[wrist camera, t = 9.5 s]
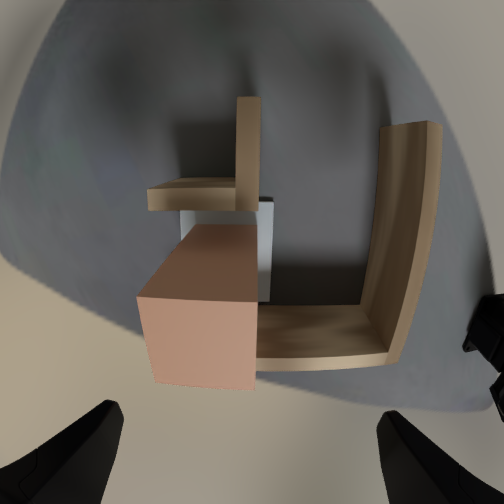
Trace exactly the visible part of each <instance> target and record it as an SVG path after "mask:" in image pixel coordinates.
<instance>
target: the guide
mask: <svg viewBox="0 0 504 504" xmlns="http://www.w3.org/2000/svg"><path fill="white" fill-rule="evenodd" d="M260 120H261V97H237V121H236V177H195V178H179V179H176V180H173V181H170V182H167V183H164V184H161V185H158V186H155V187H152V188H149V189H147V195H148V211H180V223H181V241H182V239H183V238H184V237H185V236H186V235H187V234H188V232H189V231H190V230H191V229H192V228H193V226H194V225H195V224H233V225H257V238H258V302H269V300H270V281H271V260H272V237H273V211H274V202H273V201H259V166H260ZM441 158H442V125H441V124H438V123H434V122H430V121H420V122H412V123H405V124H399V125H392V126H386V127H380V139H379V162H378V178H377V190H376V201H375V211H374V220H373V228H372V236H371V243H370V250H369V257H368V263H367V269H366V275H365V280H364V286H363V291H362V296H361V301H360V305H258V307H257V341H256V371H312V370H333V369H347V368H359V367H370V366H379V365H387V364H395V363H398V360H399V358H400V355H401V352H402V350H403V347H404V344H405V341H406V338H407V335H408V332H409V329H410V326H411V323H412V320H413V316H414V313H415V310H416V306H417V303H418V299H419V295H420V292H421V288H422V284H423V280H424V276H425V271H426V267H427V262H428V258H429V253H430V248H431V242H432V237H433V231H434V225H435V218H436V211H437V203H438V195H439V185H440V173H441Z"/></svg>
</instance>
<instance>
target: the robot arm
mask: <svg viewBox="0 0 504 504" xmlns="http://www.w3.org/2000/svg"><path fill="white" fill-rule="evenodd" d="M463 350H464V352H470V351H474V350H478V351H479V352H480V353H481V354H482V355H483V357H484V358H485V359H486V360H487V361H488V362H490V363H491V364H492V366H493V367H494V368H495V369H496V370H497V372H498V373H500V372H501V374H500V375H499V377H498V378H497V380H496V381H495V383H494V384H492V386H491V387H490V388H489V389H490V392H491V394H492V397H493V399H494V402H495V404H496V407H497V409H498V412H499V414H500V417H501V419H502V421H503V422H504V294H496V295H487V296H484V297H483V298H482V300H481V302H480V305H479V308H478V311H477V314H476V317H475V319H474V322H473V324H472V327H471V330H470V332H469V335H468V337H467V339H466V342H465V344H464V346H463ZM123 422H124V417H123V414H122V411H121V409H120V407H119V404H118V403H117V402H115V401H112V400H104V401H103V402H102V403H100V404H99V405H97V406H96V407H95V408H93V409H92V410H91V411H89V412H88V413H87V414H85V415H84V416H82V417H81V418H79V419H78V420H77V421H75V422H74V423H72V424H71V425H69V426H68V427H67V428H65V429H64V430H62V431H61V432H59V433H58V434H57V435H55V436H54V437H52V438H51V439H49V440H48V441H46V442H45V443H43V444H42V445H41V446H39V447H38V449H34V450H33V451H32V452H30V453H29V454H27V455H25V456H24V457H22V458H20V459H19V460H17V461H15V462H13V463H11V464H9V465H7V466H5V467H3V468H0V504H101V500H102V497H103V494H104V491H105V488H106V485H107V481H108V478H109V475H110V472H111V469H112V466H113V463H114V461H115V457H116V454H117V449H118V445H119V440H120V435H121V431H122V426H123ZM376 431H377V438H378V446H379V454H380V462H381V468H382V473H383V477H384V481H385V486H386V490H387V495H388V499H389V504H504V494H503V493H501V492H500V491H498V490H496V489H495V488H493V487H491V486H489V485H488V484H486V483H485V482H483V481H481V480H480V479H478V478H477V477H475V476H474V475H473V474H471V473H470V472H469V471H467V470H466V469H465V468H464V467H462V466H461V465H459V463H458V462H456V461H455V460H454V459H453V458H451V457H450V456H449V455H448V454H447V453H446V452H444V451H443V450H442V449H441V448H439V447H438V446H437V445H436V444H435V443H433V442H432V441H431V440H430V439H429V438H428V437H426V436H425V435H424V434H423V433H422V432H420V431H419V430H418V429H417V428H416V427H415V426H414V425H412V424H411V423H410V422H409V421H408V420H407V419H406V418H404V417H403V416H402V415H401V414H400V413H399V412H397V411H395V410H392V411H387V412H384V414H383V415H382V417H381V419H380V421H379V423H378V425H377V430H376Z"/></svg>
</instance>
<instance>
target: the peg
mask: <svg viewBox="0 0 504 504" xmlns="http://www.w3.org/2000/svg"><path fill="white" fill-rule="evenodd" d="M137 302H138V307H139V313H140V318H141V323H142V328H143V333H144V337H145V342H146V346H147V351H148V355H149V359H150V363H151V367H152V371H153V375H154V378H155V382H156V383H163V384H172V385H180V386H189V387H201V388H215V389H232V390H255V372H256V341H257V307H258V238H257V225H233V224H195V225H194V226H193V228H192V229H191V230H190V231H189V232H188V234H187V235H186V236H185V237H184V238H183V239H182V241H181V242H180V243H179V244H178V245H177V247H176V248H175V249H174V250H173V252H172V253H171V254H170V255H169V256H168V258H167V259H166V260H165V261H164V263H163V264H162V265H161V266H160V268H159V269H158V270H157V271H156V273H155V274H154V275H153V276H152V278H151V279H150V280H149V281H148V283H147V284H146V285H145V286H144V288H143V289H142V290H141V292H140V293H139V294H138V295H137Z"/></svg>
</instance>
